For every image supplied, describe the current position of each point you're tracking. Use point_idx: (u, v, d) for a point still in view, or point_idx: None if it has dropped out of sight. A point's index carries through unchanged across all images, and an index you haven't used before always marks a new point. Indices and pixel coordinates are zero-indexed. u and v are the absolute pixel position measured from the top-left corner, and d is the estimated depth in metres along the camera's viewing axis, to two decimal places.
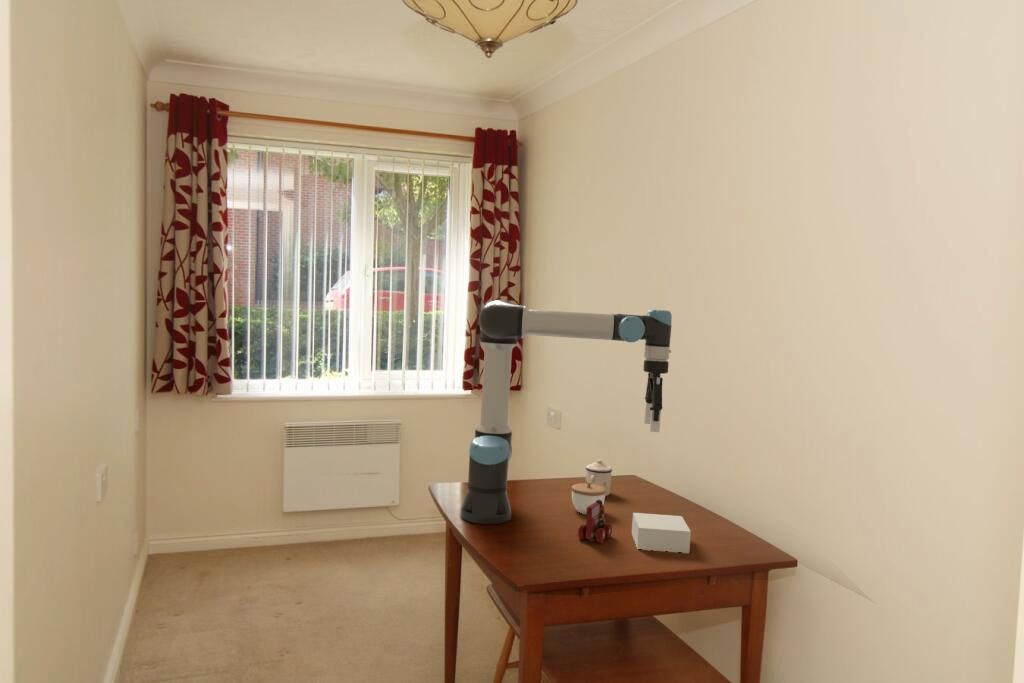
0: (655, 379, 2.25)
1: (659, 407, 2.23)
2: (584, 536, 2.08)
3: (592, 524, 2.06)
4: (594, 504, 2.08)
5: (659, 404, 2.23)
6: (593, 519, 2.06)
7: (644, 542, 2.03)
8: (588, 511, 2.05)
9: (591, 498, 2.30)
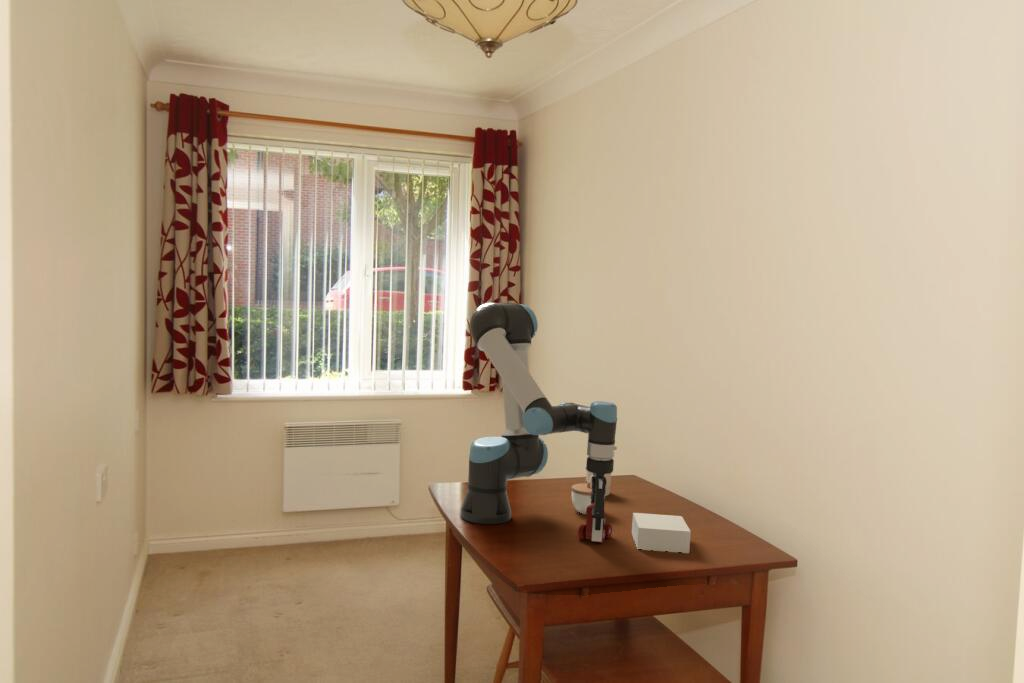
0: (597, 483, 2.03)
1: (600, 516, 2.01)
2: (584, 536, 2.08)
3: (592, 524, 2.05)
4: None
5: (601, 512, 2.01)
6: None
7: (644, 542, 2.03)
8: (588, 511, 2.05)
9: None
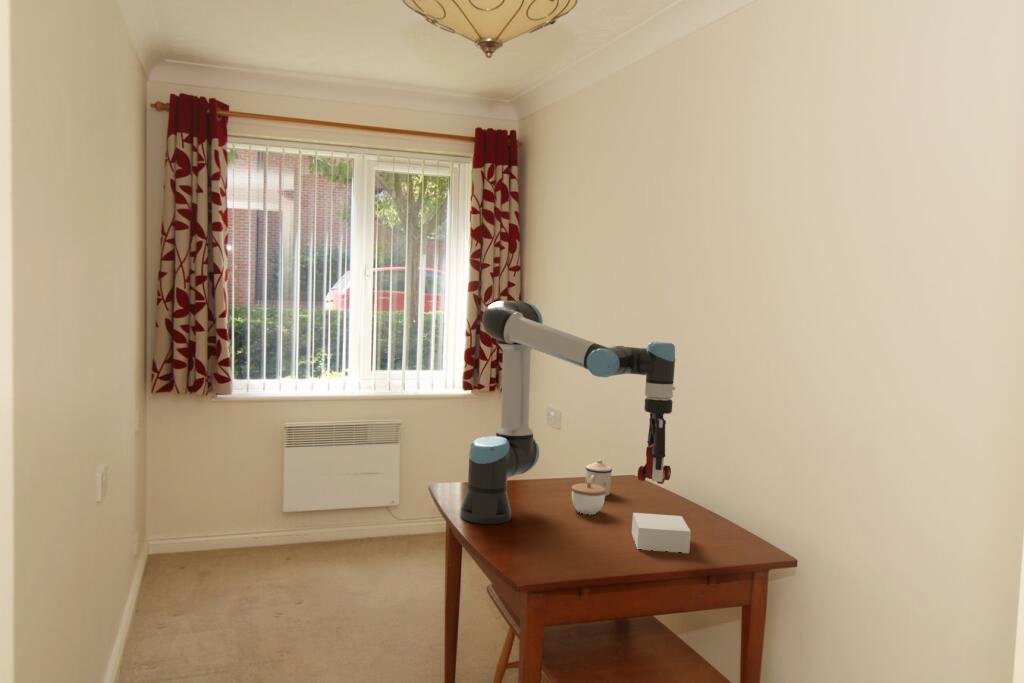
0: (657, 422, 2.01)
1: (662, 454, 1.98)
2: (643, 477, 2.06)
3: (652, 464, 2.03)
4: (653, 445, 2.06)
5: (662, 451, 1.99)
6: None
7: (644, 542, 2.03)
8: (648, 451, 2.02)
9: (591, 498, 2.30)
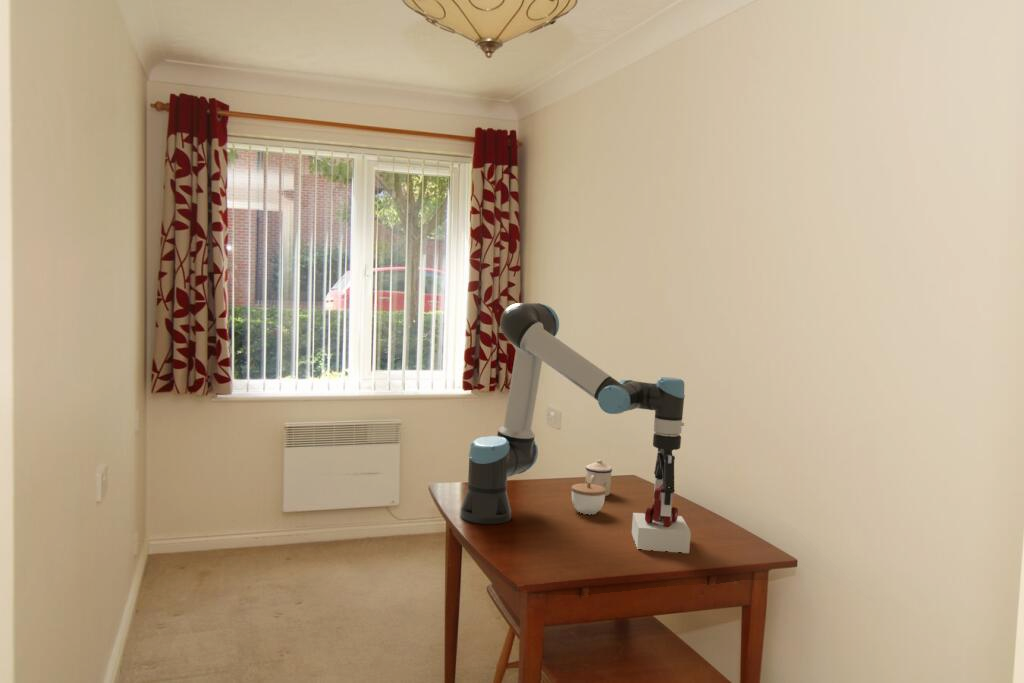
0: (666, 458, 2.01)
1: (671, 490, 1.99)
2: (651, 519, 2.07)
3: (660, 507, 2.04)
4: (661, 487, 2.07)
5: (671, 486, 1.99)
6: (660, 502, 2.05)
7: (644, 542, 2.03)
8: (656, 494, 2.03)
9: (591, 498, 2.30)
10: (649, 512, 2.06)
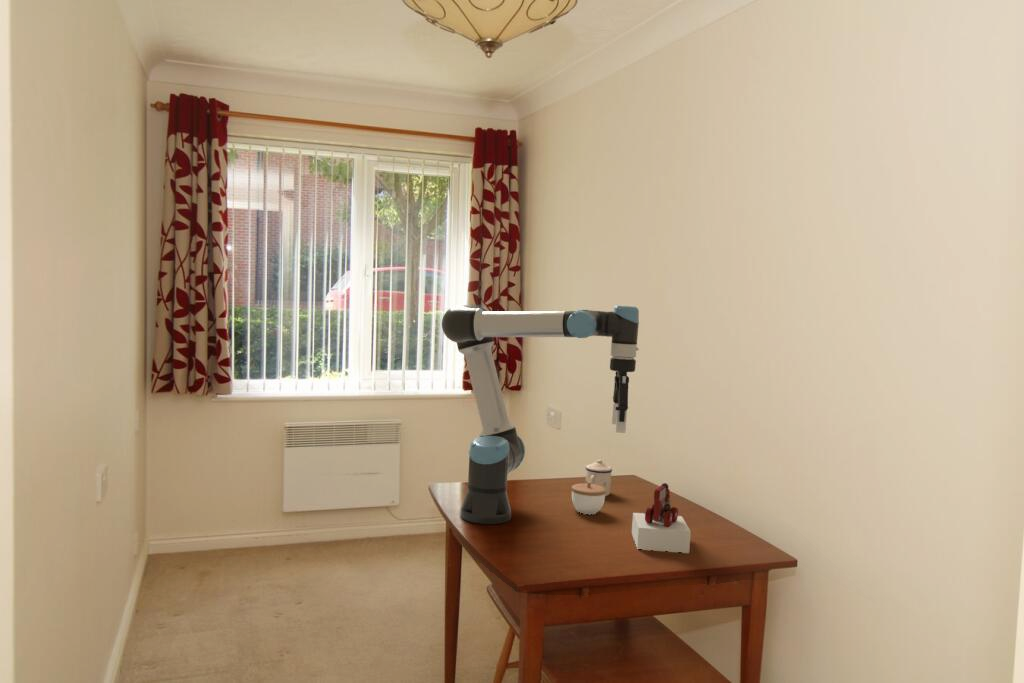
0: (621, 378, 2.17)
1: (624, 407, 2.14)
2: (651, 519, 2.07)
3: (660, 507, 2.04)
4: (661, 487, 2.07)
5: (625, 404, 2.14)
6: (660, 502, 2.05)
7: (644, 542, 2.03)
8: (656, 494, 2.03)
9: (591, 498, 2.30)
10: (649, 512, 2.06)
